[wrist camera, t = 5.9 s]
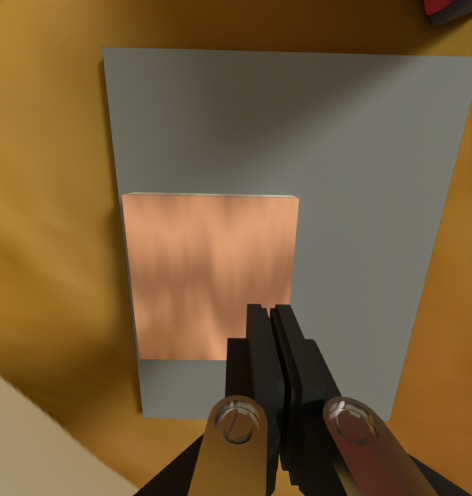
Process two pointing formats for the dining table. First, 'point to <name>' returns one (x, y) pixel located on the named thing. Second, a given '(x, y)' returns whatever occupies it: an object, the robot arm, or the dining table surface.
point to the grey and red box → (447, 10)
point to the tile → (205, 267)
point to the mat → (301, 187)
